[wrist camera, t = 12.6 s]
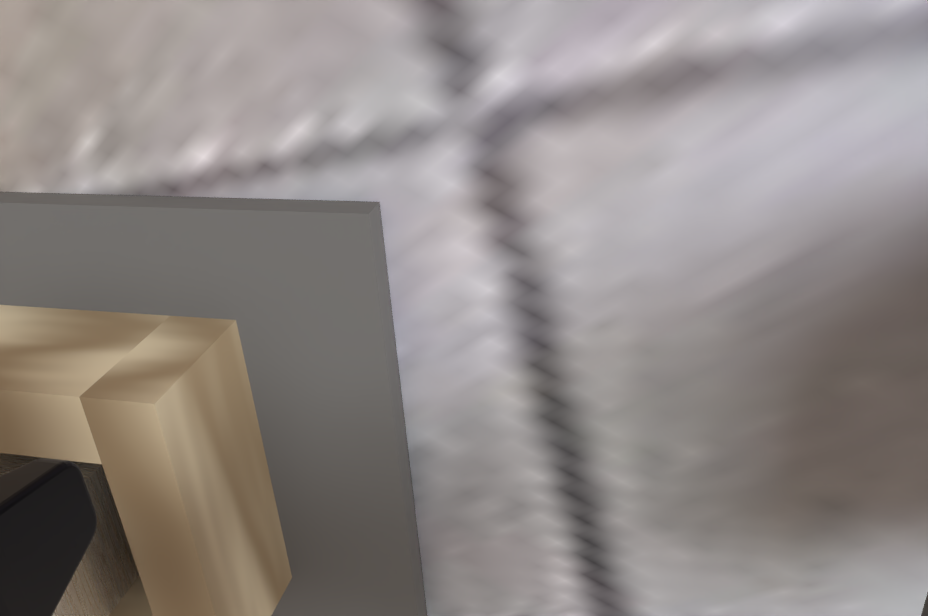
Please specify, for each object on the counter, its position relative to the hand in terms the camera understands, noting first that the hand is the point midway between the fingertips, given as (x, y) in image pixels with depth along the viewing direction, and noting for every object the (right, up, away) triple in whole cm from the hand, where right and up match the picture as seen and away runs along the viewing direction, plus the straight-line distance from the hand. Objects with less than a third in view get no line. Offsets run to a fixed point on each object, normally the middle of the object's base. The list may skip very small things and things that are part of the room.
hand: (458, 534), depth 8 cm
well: (-10, -2, +18) cm, 21 cm away
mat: (-10, -2, +18) cm, 21 cm away
